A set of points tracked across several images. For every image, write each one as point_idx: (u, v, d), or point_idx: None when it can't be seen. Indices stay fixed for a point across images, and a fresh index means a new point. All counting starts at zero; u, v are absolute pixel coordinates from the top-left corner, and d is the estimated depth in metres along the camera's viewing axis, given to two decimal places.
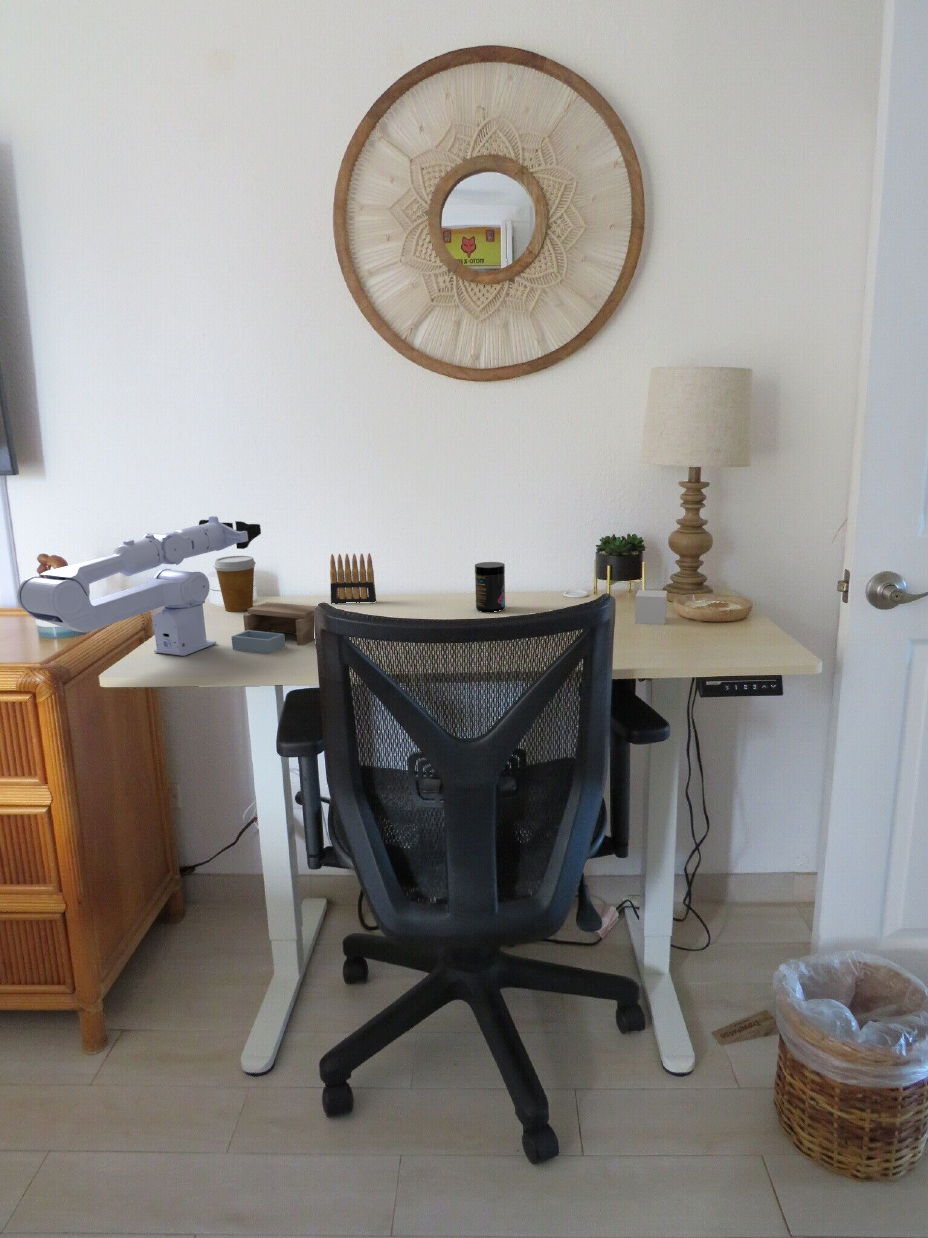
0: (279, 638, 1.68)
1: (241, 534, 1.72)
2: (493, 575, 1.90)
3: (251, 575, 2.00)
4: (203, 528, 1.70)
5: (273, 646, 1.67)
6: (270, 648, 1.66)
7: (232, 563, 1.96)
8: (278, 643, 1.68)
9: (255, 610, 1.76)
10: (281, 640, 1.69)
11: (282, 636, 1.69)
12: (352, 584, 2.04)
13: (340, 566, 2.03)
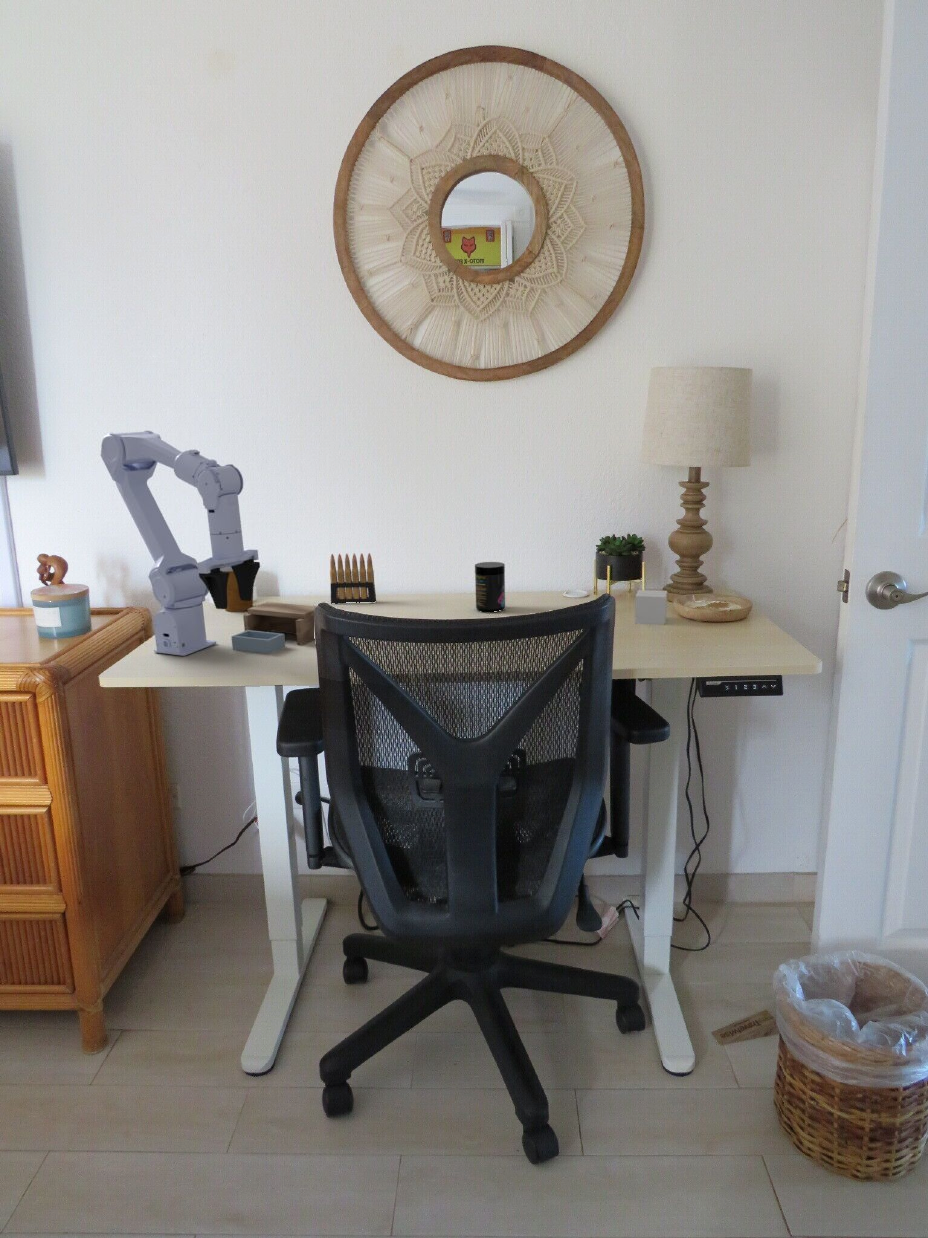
0: (279, 638, 1.68)
1: (204, 564, 1.53)
2: (493, 576, 1.90)
3: None
4: (230, 534, 1.56)
5: (273, 646, 1.67)
6: (270, 648, 1.66)
7: None
8: (278, 643, 1.68)
9: (255, 610, 1.76)
10: (281, 640, 1.69)
11: (282, 636, 1.69)
12: (352, 584, 2.04)
13: (340, 566, 2.03)
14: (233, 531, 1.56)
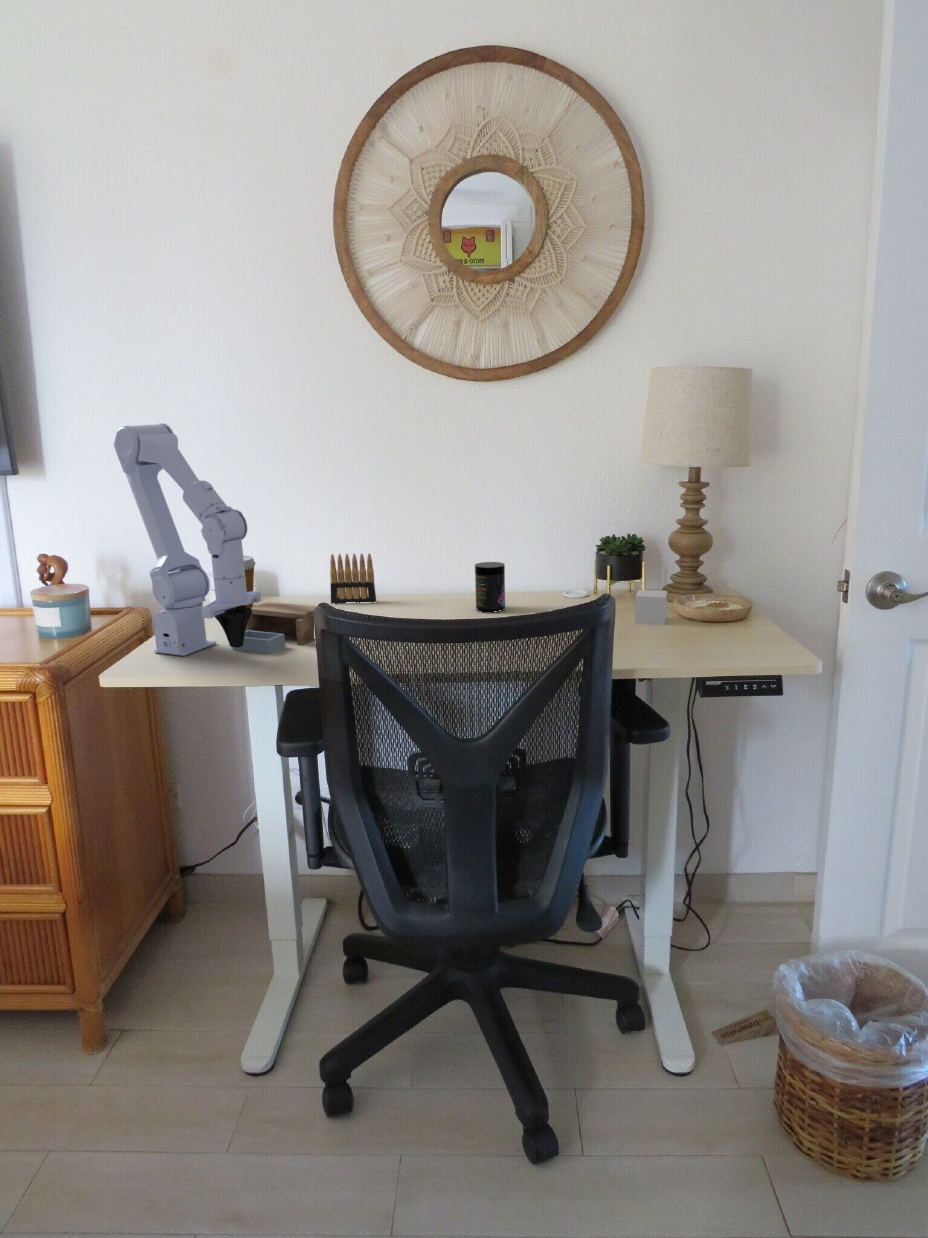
0: (279, 638, 1.68)
1: (208, 609, 1.55)
2: (493, 576, 1.90)
3: (251, 575, 2.00)
4: (234, 579, 1.58)
5: (273, 646, 1.67)
6: (270, 648, 1.66)
7: None
8: (278, 643, 1.68)
9: (255, 610, 1.76)
10: (281, 640, 1.69)
11: (282, 636, 1.69)
12: (352, 584, 2.04)
13: (340, 566, 2.03)
14: (237, 576, 1.58)
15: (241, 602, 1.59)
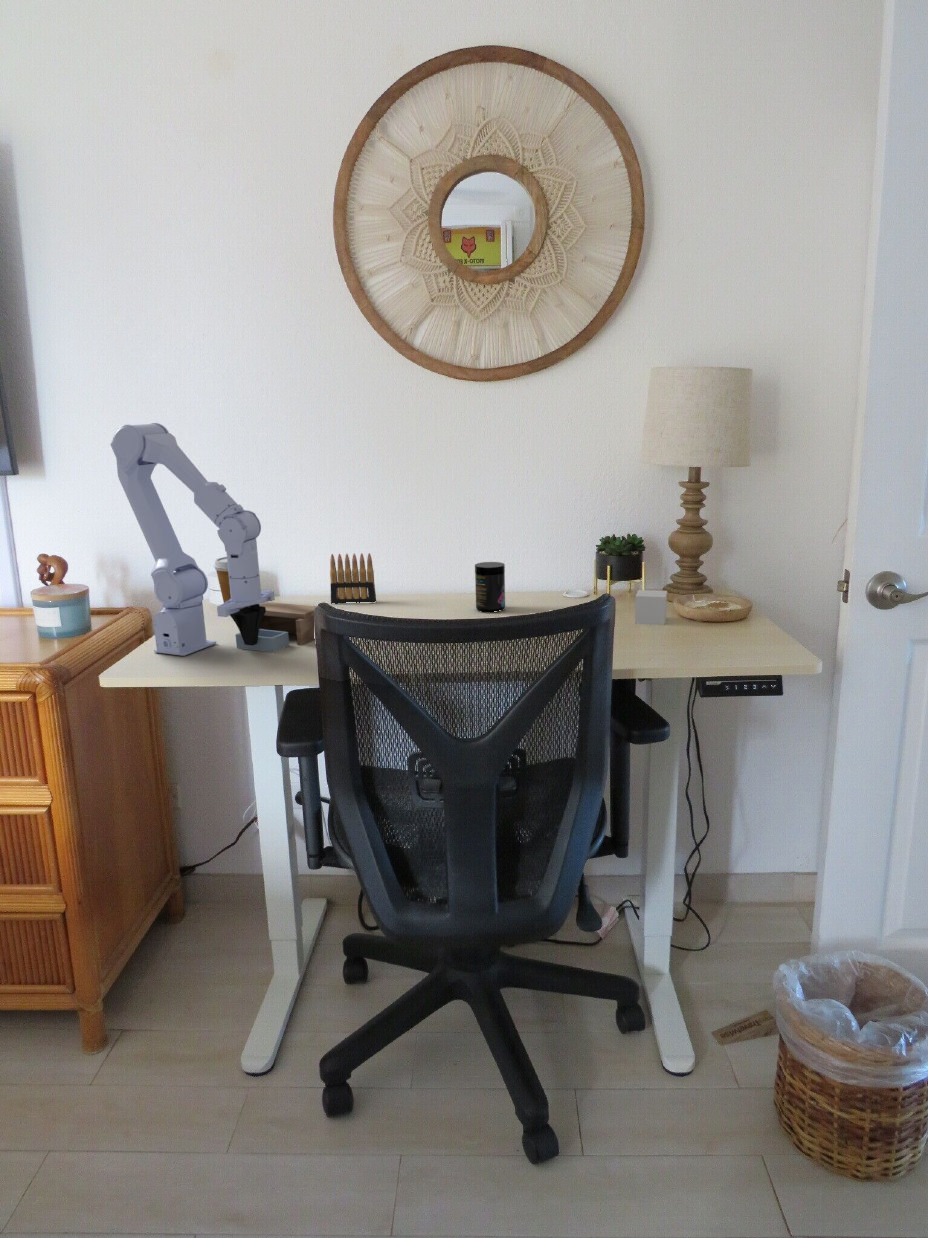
0: (283, 636, 1.69)
1: (223, 608, 1.59)
2: (493, 576, 1.90)
3: None
4: (248, 579, 1.62)
5: (277, 644, 1.68)
6: (274, 646, 1.67)
7: None
8: (282, 641, 1.69)
9: None
10: (285, 638, 1.70)
11: (286, 634, 1.70)
12: (352, 584, 2.04)
13: (340, 566, 2.03)
14: (255, 575, 1.63)
15: (255, 601, 1.63)
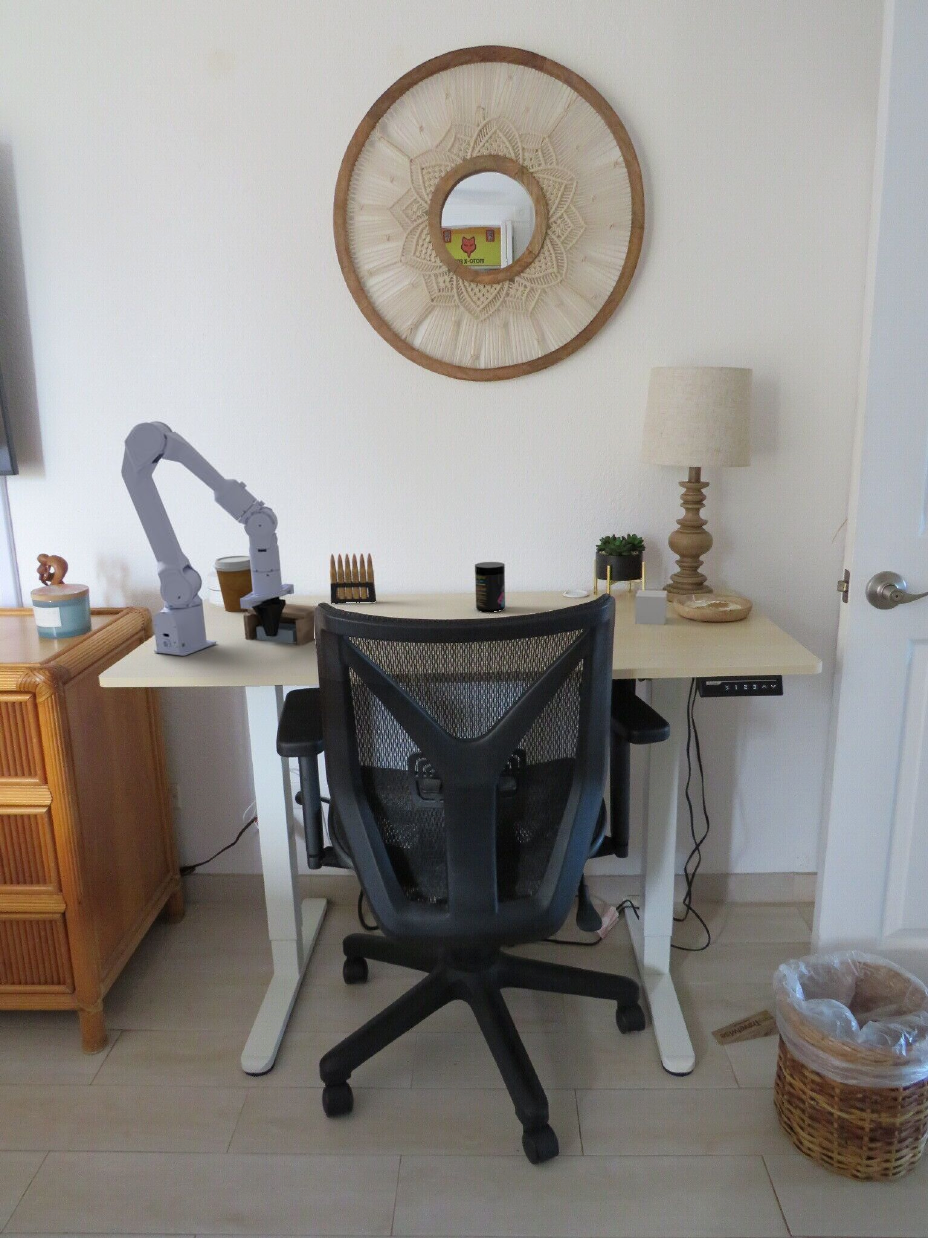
0: None
1: (246, 600, 1.64)
2: (493, 576, 1.90)
3: None
4: (270, 572, 1.68)
5: None
6: (294, 638, 1.73)
7: (232, 563, 1.96)
8: None
9: None
10: None
11: None
12: (352, 584, 2.04)
13: (340, 566, 2.03)
14: (279, 567, 1.69)
15: (277, 594, 1.69)
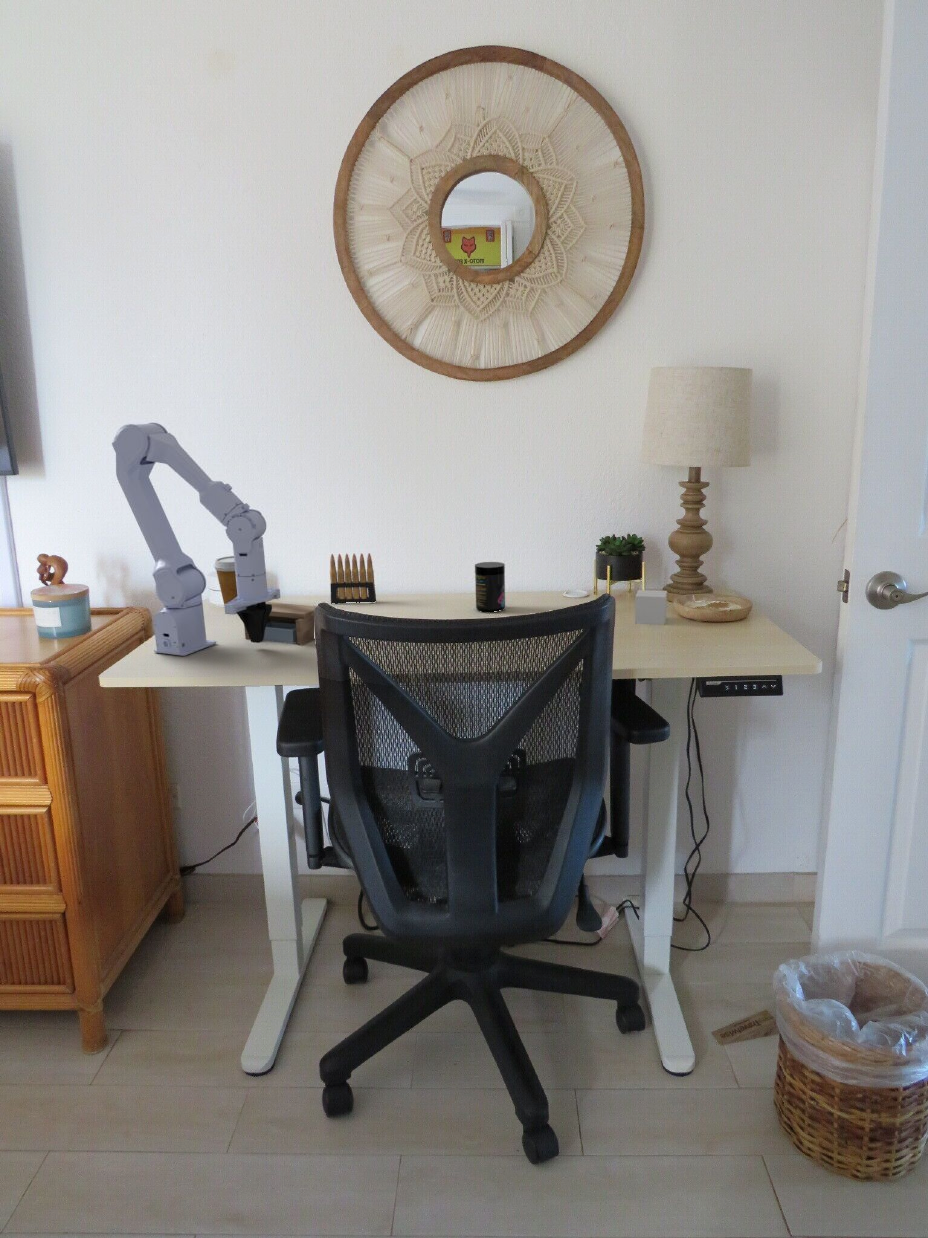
0: None
1: (230, 605, 1.60)
2: (493, 576, 1.90)
3: None
4: (255, 577, 1.64)
5: None
6: (294, 638, 1.73)
7: (232, 563, 1.96)
8: None
9: None
10: None
11: None
12: (352, 584, 2.04)
13: (340, 566, 2.03)
14: (263, 572, 1.65)
15: (262, 599, 1.65)
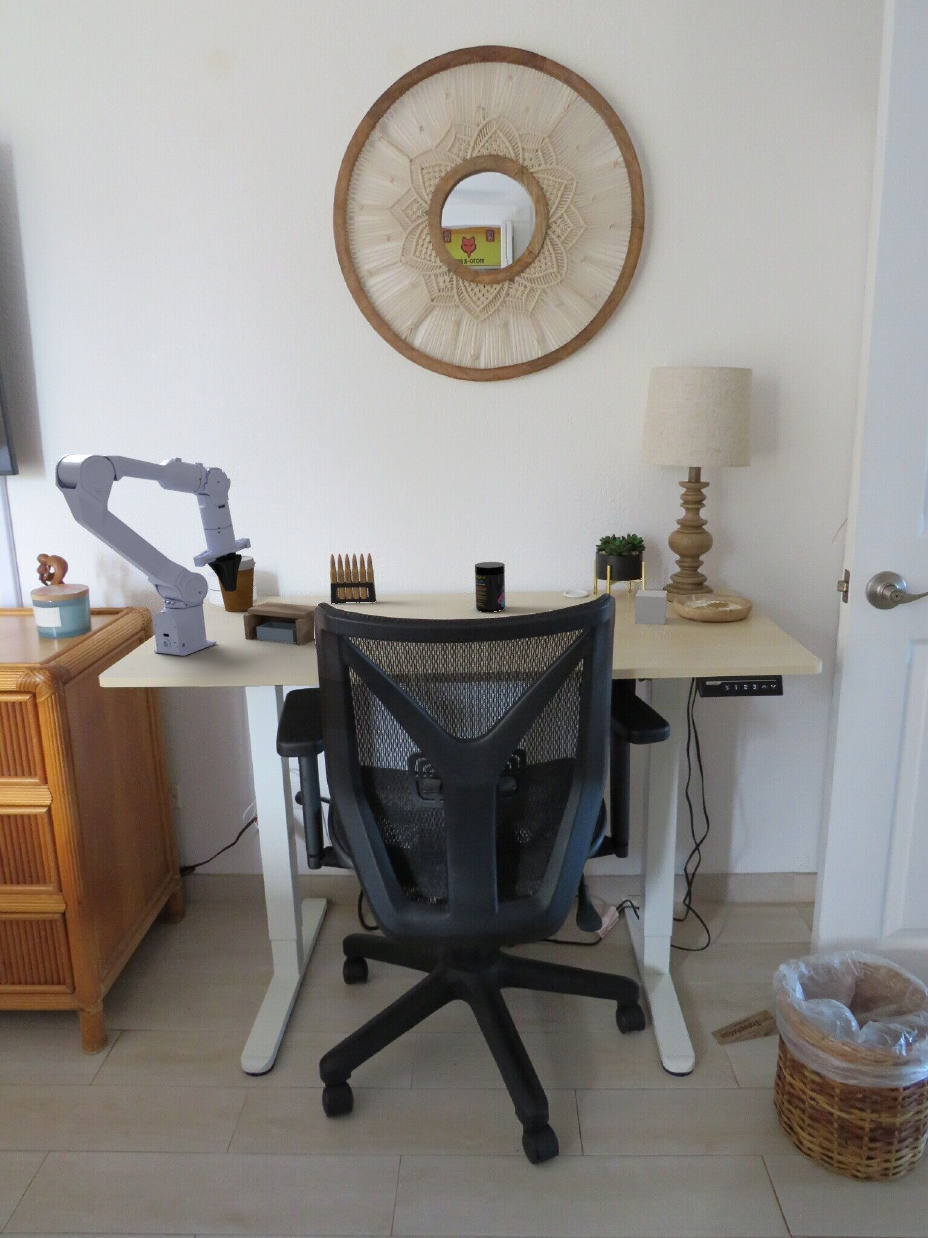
0: None
1: (199, 558, 1.69)
2: (493, 576, 1.90)
3: (251, 575, 2.00)
4: (221, 529, 1.71)
5: None
6: (294, 638, 1.73)
7: None
8: None
9: (255, 610, 1.76)
10: None
11: None
12: (352, 584, 2.04)
13: (340, 566, 2.03)
14: None
15: (230, 550, 1.72)
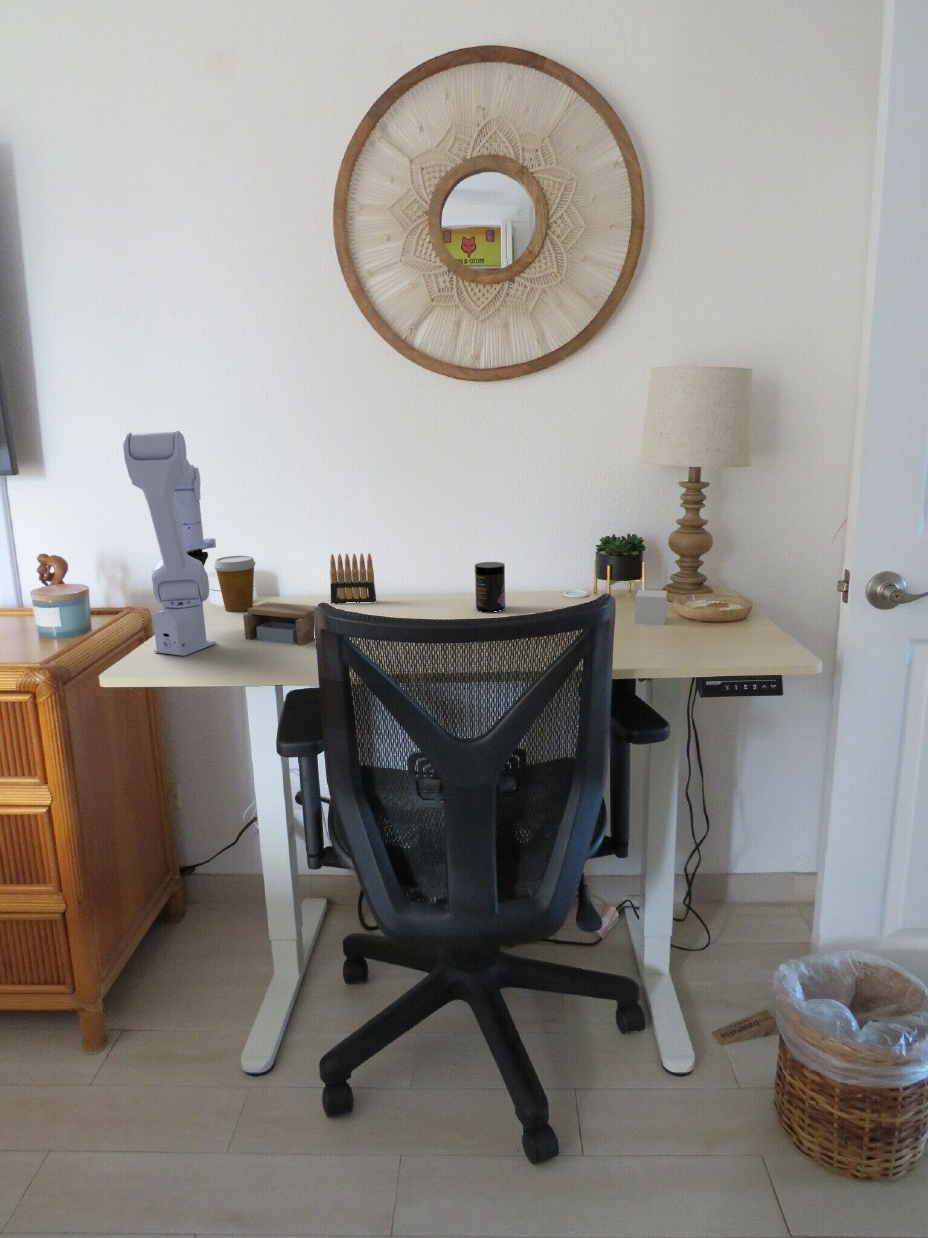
0: None
1: None
2: (493, 576, 1.90)
3: (251, 575, 2.00)
4: (191, 525, 1.78)
5: None
6: (294, 638, 1.73)
7: (232, 563, 1.96)
8: None
9: (255, 610, 1.76)
10: None
11: None
12: (352, 584, 2.04)
13: (340, 566, 2.03)
14: None
15: (198, 545, 1.79)
